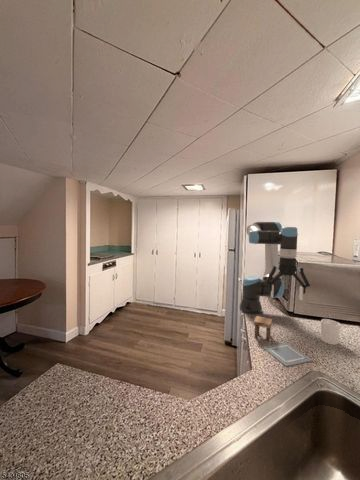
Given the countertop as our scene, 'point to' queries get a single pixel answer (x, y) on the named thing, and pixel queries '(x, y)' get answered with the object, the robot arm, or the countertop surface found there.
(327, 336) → the white cup
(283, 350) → the mat
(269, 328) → the stool
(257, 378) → the countertop surface
